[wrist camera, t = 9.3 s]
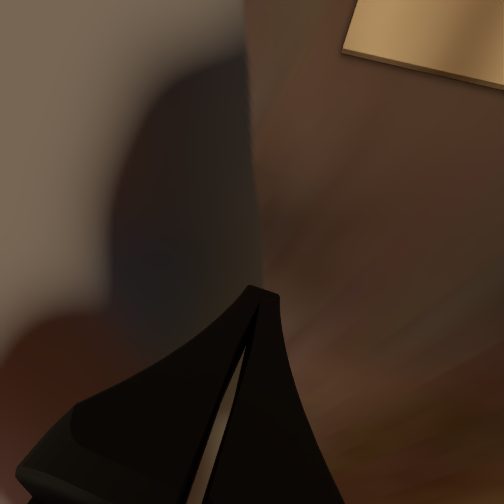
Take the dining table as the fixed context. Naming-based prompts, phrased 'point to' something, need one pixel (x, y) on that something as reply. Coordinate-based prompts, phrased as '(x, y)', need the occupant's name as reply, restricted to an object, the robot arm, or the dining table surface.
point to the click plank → (432, 37)
